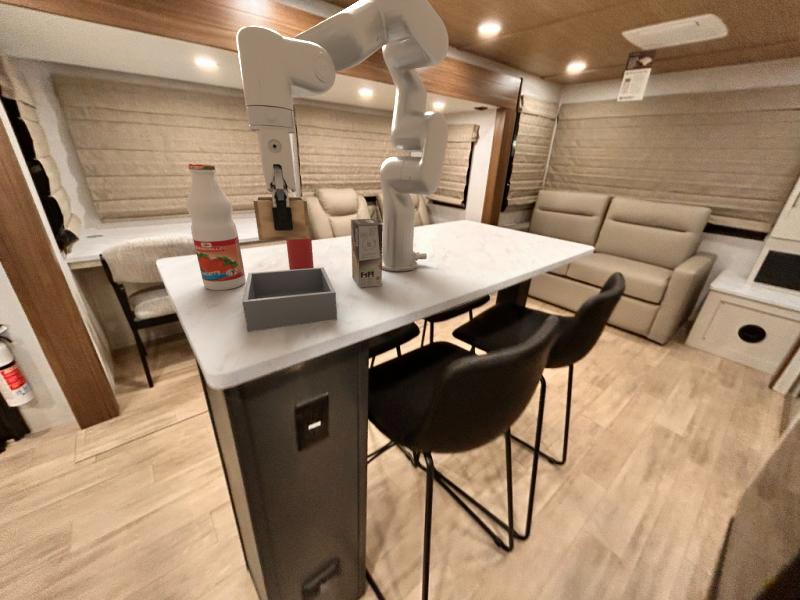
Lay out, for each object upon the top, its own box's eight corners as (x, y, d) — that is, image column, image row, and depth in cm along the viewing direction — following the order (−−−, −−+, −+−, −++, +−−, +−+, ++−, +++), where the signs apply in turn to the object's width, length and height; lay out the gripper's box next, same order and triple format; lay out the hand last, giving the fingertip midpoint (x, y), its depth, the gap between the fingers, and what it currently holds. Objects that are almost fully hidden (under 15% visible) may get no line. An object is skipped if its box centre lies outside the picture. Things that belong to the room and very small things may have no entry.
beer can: (310, 277, 85) (306, 234, 80) (286, 276, 85) (281, 233, 80) (316, 270, 91) (313, 229, 86) (294, 269, 91) (290, 228, 86)
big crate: (325, 290, 77) (323, 267, 75) (337, 319, 63) (335, 292, 61) (252, 297, 72) (248, 272, 69) (247, 331, 57) (242, 301, 55)
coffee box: (382, 285, 82) (383, 224, 75) (359, 288, 79) (358, 225, 73) (372, 274, 89) (373, 218, 83) (351, 276, 87) (349, 218, 81)
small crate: (306, 231, 65) (303, 197, 63) (309, 238, 60) (306, 200, 57) (260, 233, 62) (255, 196, 60) (259, 240, 56) (253, 201, 54)
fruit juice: (253, 279, 82) (234, 165, 71) (232, 292, 74) (207, 164, 62) (219, 276, 83) (195, 163, 72) (195, 289, 74) (163, 163, 63)
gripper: (298, 118, 47) (307, 234, 54) (291, 128, 62) (299, 218, 69) (243, 113, 44) (261, 236, 52) (250, 125, 59) (263, 219, 66)
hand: (283, 225), depth 60 cm, fingers closed on small crate, 7 cm apart
